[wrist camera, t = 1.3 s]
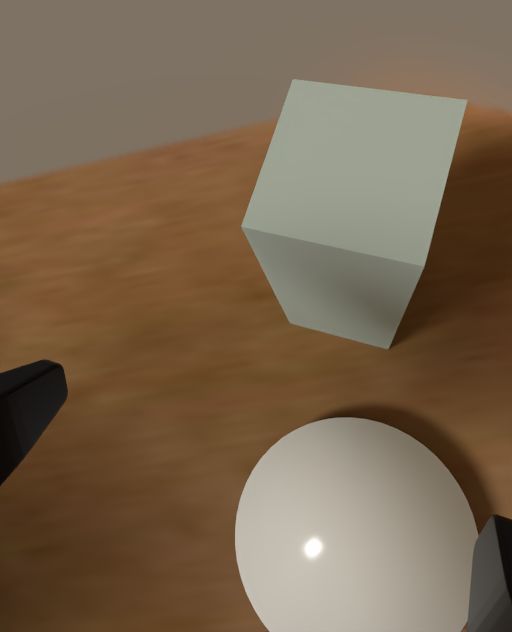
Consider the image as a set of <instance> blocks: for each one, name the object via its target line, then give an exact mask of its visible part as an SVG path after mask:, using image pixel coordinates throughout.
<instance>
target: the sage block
mask: <svg viewBox="0 0 512 632" xmlns="http://www.w3.org/2000/svg"><path fill="white" fill-rule="evenodd" d="M466 103H467V100H462V99H454V98H445V97H437V96H429V95H420V94H412V93H404V92H395V91H387V90H379V89H370V88H361V87H354V86H345V85H337V84H328V83H320V82H311V81H303V80H295V79H293V81H292V84H291V87H290V89H289V92H288V95H287V98H286V101H285V104H284V106H283V109H282V112H281V115H280V118H279V121H278V124H277V126H276V129H275V132H274V135H273V138H272V141H271V143H270V146H269V149H268V152H267V155H266V158H265V161H264V163H263V166H262V169H261V172H260V175H259V178H258V180H257V183H256V186H255V189H254V192H253V195H252V198H251V200H250V203H249V206H248V209H247V212H246V215H245V218H244V220H243V223H242V226H241V227H242V229H243V231H244V233H245V235H246V237H247V239H248V241H249V243H250V245H251V247H252V249H253V251H254V253H255V255H256V257H257V259H258V261H259V263H260V265H261V267H262V269H263V271H264V273H265V275H266V277H267V279H268V281H269V283H270V285H271V287H272V289H273V291H274V293H275V295H276V297H277V299H278V301H279V303H280V305H281V306H282V308H283V310H284V312H285V314H286V316H287V318H288V320H289V322H290V323H291V324H295V325H299V326H302V327H306V328H310V329H314V330H317V331H321V332H325V333H328V334H332V335H336V336H339V337H343V338H347V339H351V340H354V341H358V342H362V343H365V344H369V345H373V346H376V347H380V348H384V349H389V347H390V345H391V342H392V340H393V338H394V335H395V333H396V331H397V329H398V326H399V324H400V322H401V319H402V317H403V315H404V312H405V310H406V308H407V306H408V303H409V301H410V299H411V296H412V294H413V292H414V289H415V287H416V285H417V283H418V280H419V278H420V276H421V273H422V271H423V269H424V266H425V262H426V258H427V255H428V251H429V247H430V243H431V239H432V235H433V231H434V227H435V224H436V220H437V216H438V212H439V208H440V204H441V200H442V196H443V193H444V189H445V185H446V181H447V177H448V173H449V169H450V165H451V161H452V158H453V154H454V150H455V146H456V142H457V138H458V134H459V130H460V127H461V123H462V119H463V115H464V111H465V107H466Z"/></svg>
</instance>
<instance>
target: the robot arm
mask: <svg viewBox="0 0 512 632" xmlns="http://www.w3.org/2000/svg"><path fill="white" fill-rule="evenodd" d="M67 395H68V389H67V384H66V379H65V374H64V369H63V367H62V365H60V364H59V363H56V362H53V361H50V360H40V361H37V362H34V363H31V364H27V365H24V366H21V367H18V368H15V369H12V370H9V371H6V372H3V373H0V486H1V484H2V483H3V482H4V481H5V480H6V479H7V478H8V476H9V475H10V474H11V473H12V472H13V471H14V470H15V468H16V467H17V466H18V465H19V464H20V462H21V461H22V460H23V459H24V458H25V456H26V455H27V454H28V452H29V451H30V450H31V448H32V447H33V446H34V444H35V443H36V441H37V440H38V439H39V437H40V436H41V435H42V433H43V432H44V430H45V429H46V428H47V426H48V425H49V423H50V422H51V421H52V419H53V418H54V416H55V415H56V414H57V412H58V411H59V409H60V408H61V407H62V405H63V404H64V402H65V401H66V398H67ZM467 632H512V520H511V519H508V518H505V517H502V516H500V515H492V516H491V517H490V518H489V520H488V521H487V523H486V525H485V526H484V528H483V530H482V532H481V533H480V535H479V537H478V538H477V540H476V543H475V546H474V550H473V559H472V571H471V584H470V596H469V609H468V621H467Z"/></svg>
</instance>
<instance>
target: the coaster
mask: <svg viewBox="0 0 512 632" xmlns="http://www.w3.org/2000/svg"><path fill="white" fill-rule="evenodd" d="M477 538H478V532H477V528H476V524H475V520H474V517H473V514H472V511H471V509H470V506H469V504H468V501H467V499H466V497H465V495H464V493H463V492H462V490H461V488H460V486H459V484H458V483H457V481H456V480H455V478H454V477H453V476H452V474H451V473H450V471H449V470H448V469H447V468H446V466H445V465H444V464H443V463H442V462H441V461H440V460H439V459H438V458H437V456H435V455H434V454H433V453H432V452H431V451H430V450H429V449H428V448H426V447H425V446H424V445H423V444H421V443H420V442H418V441H417V440H416V439H414V438H413V437H411V436H410V435H408V434H406V433H404V432H402V431H400V430H398V429H396V428H394V427H391V426H389V425H386V424H383V423H381V422H376V421H372V420H368V419H361V418H352V417H345V418H331V419H325V420H320V421H316V422H313V423H310V424H307V425H305V426H302V427H300V428H298V429H296V430H294V431H292V432H291V433H289V434H288V435H286V436H284V437H283V438H281V439H280V440H279V441H278V442H277V443H276V444H274V445H273V446H272V447H271V448H270V449H269V450H268V451H267V452H266V453H265V454H264V456H263V457H262V458H261V459H260V461H259V462H258V463H257V465H256V466H255V468H254V469H253V471H252V473H251V475H250V477H249V479H248V480H247V482H246V485H245V487H244V490H243V493H242V495H241V498H240V502H239V507H238V511H237V517H236V526H235V548H236V556H237V563H238V567H239V572H240V576H241V579H242V582H243V585H244V588H245V591H246V593H247V596H248V598H249V600H250V602H251V604H252V606H253V608H254V610H255V611H256V613H257V615H258V616H259V618H260V619H261V621H262V622H263V624H264V625H265V626H266V628H267V629H268V630H269V631H270V632H461V631H462V629H463V627H464V626H465V624H466V622H467V620H468V609H469V596H470V584H471V571H472V559H473V550H474V546H475V543H476V540H477Z"/></svg>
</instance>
